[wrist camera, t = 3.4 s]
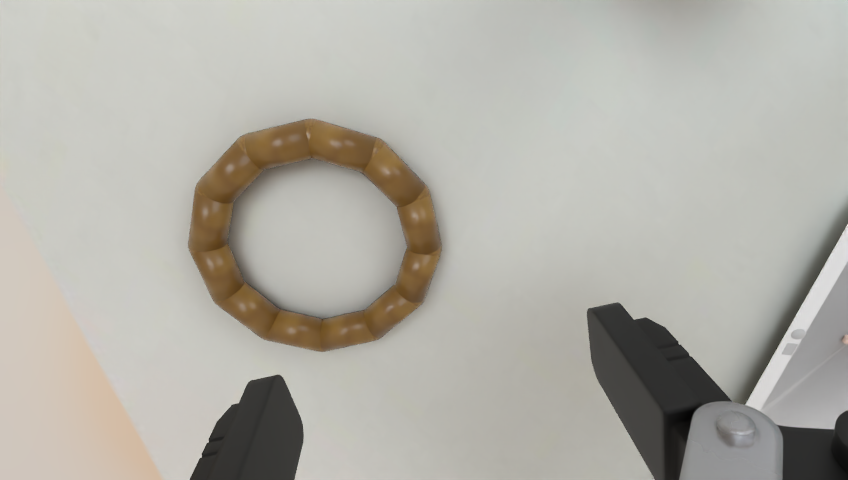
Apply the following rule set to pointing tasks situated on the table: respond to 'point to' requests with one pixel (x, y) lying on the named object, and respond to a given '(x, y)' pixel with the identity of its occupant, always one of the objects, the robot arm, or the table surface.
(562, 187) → the table surface
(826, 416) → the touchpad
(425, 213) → the ring
